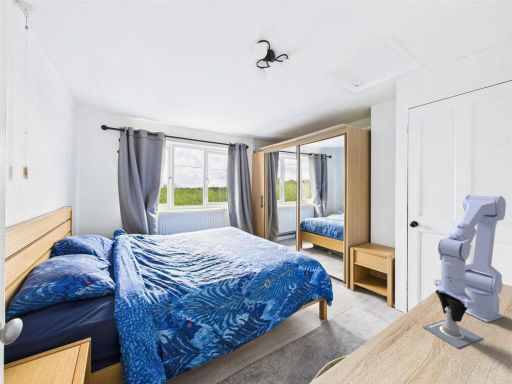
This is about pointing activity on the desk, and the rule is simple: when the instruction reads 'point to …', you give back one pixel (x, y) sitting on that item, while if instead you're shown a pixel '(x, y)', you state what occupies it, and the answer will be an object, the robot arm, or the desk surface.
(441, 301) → the robot arm
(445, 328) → the rook chess piece
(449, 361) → the desk surface
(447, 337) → the grey base plate
